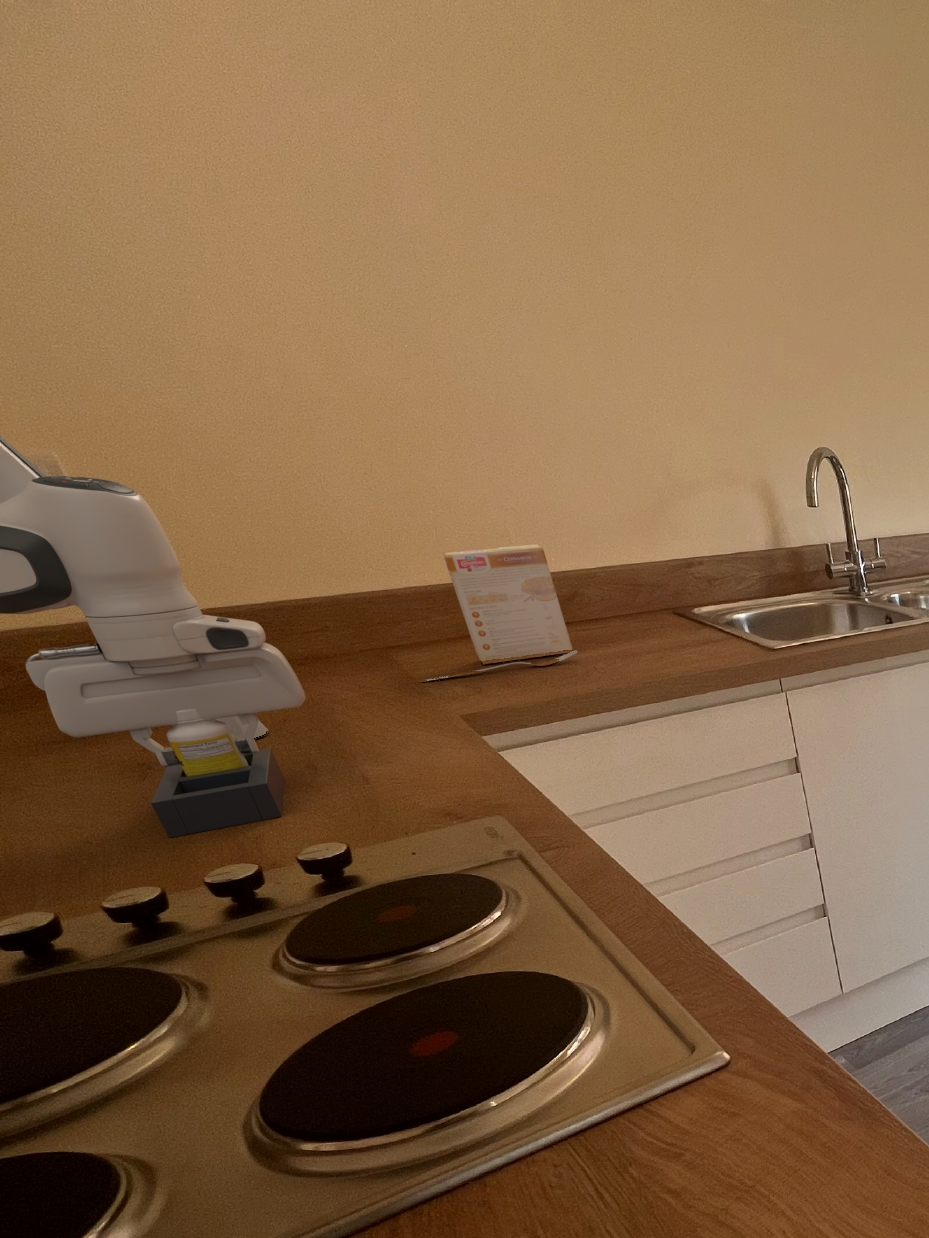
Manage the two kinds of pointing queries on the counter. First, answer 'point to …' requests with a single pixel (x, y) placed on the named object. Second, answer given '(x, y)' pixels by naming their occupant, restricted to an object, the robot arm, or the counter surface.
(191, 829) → the holder
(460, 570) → the coffeecake box
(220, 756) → the supplement bottle
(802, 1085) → the counter surface
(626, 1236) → the counter surface
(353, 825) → the counter surface
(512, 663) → the fork
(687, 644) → the counter surface
